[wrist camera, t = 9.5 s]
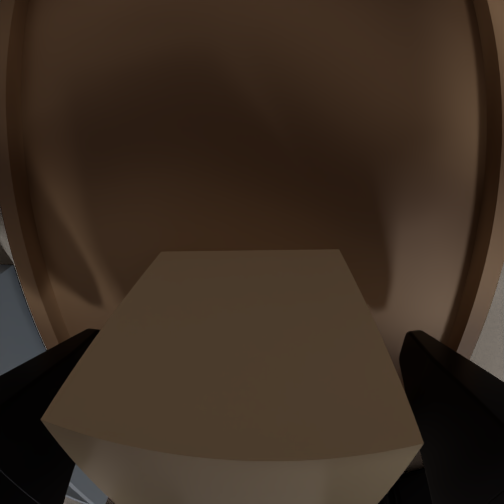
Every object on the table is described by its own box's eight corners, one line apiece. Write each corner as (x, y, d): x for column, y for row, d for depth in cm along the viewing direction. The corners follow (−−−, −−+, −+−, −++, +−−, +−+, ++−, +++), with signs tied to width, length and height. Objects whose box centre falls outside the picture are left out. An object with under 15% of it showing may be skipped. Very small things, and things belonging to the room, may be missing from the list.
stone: (324, 378, 9) (344, 538, 4) (186, 377, 10) (142, 527, 4) (339, 249, 8) (424, 443, 2) (161, 251, 8) (40, 419, 3)
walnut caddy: (429, 398, 10) (438, 419, 9) (92, 395, 11) (81, 414, 10) (454, -76, 3) (469, -89, 2) (35, -49, 4) (17, -58, 3)
